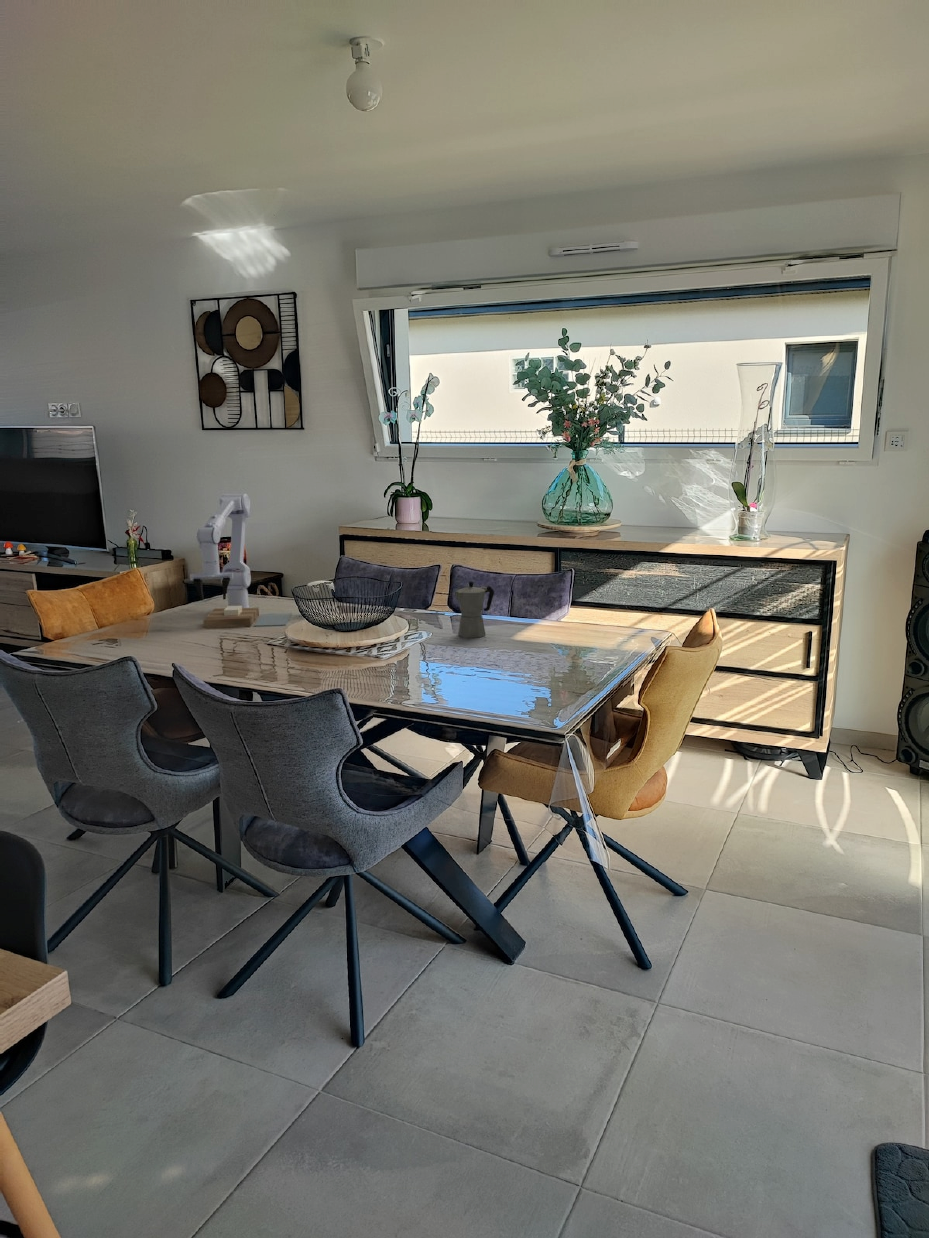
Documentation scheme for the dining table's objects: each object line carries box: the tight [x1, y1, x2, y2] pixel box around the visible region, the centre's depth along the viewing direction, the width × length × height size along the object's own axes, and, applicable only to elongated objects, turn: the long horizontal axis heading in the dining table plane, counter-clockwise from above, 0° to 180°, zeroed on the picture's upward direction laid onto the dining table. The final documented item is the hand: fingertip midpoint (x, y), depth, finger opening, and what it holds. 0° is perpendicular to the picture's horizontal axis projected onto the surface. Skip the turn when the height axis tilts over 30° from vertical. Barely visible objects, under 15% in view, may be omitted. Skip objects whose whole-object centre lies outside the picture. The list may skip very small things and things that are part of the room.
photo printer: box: [306, 580, 335, 592], centre depth 323 cm, size 10×4×12 cm, turn 109°
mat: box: [253, 612, 293, 627], centre depth 315 cm, size 18×11×1 cm, turn 4°
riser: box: [203, 606, 260, 629], centre depth 314 cm, size 18×16×3 cm
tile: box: [224, 605, 242, 616], centre depth 313 cm, size 7×5×2 cm
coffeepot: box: [453, 580, 495, 639], centre depth 288 cm, size 15×9×18 cm, turn 121°
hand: (213, 599), depth 310 cm, fingers open, 7 cm apart
